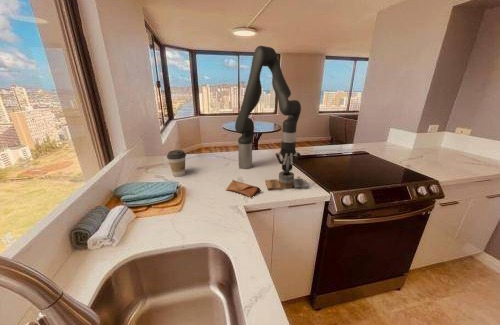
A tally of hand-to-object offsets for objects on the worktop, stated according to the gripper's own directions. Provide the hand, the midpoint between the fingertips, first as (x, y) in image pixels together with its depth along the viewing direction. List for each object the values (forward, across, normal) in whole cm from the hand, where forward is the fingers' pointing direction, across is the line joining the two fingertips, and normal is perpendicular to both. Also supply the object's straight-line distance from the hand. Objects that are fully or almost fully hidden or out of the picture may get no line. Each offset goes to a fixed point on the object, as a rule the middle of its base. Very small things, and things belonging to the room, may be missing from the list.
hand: (286, 170), depth 116 cm
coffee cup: (+9, +64, -21) cm, 68 cm away
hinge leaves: (+9, 0, 0) cm, 9 cm away
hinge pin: (+3, 0, 0) cm, 3 cm away
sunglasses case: (+10, +25, +4) cm, 27 cm away
